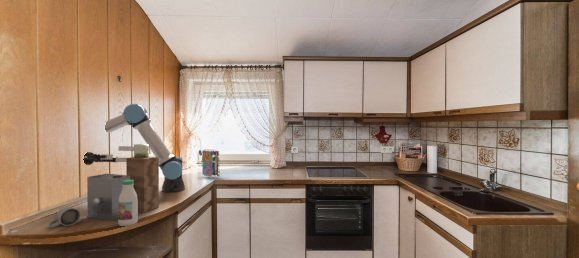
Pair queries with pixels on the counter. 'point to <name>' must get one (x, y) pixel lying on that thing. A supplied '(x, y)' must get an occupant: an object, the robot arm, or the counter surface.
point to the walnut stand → (145, 181)
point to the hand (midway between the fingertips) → (119, 158)
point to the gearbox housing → (104, 195)
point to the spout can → (137, 150)
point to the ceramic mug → (66, 217)
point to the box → (210, 163)
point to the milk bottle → (127, 204)
